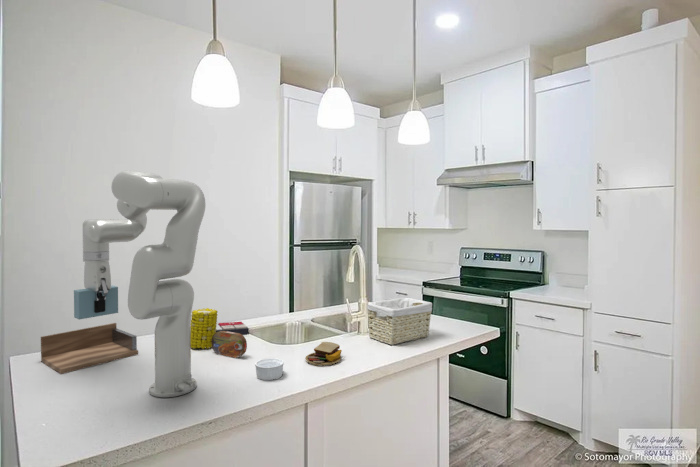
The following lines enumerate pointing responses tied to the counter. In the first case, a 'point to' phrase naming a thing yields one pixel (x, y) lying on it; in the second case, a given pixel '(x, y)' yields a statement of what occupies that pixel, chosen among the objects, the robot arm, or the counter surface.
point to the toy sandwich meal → (325, 354)
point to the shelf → (86, 347)
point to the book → (86, 303)
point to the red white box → (232, 327)
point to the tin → (229, 344)
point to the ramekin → (269, 368)
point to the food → (203, 327)
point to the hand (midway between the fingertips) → (96, 310)
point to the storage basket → (399, 320)
